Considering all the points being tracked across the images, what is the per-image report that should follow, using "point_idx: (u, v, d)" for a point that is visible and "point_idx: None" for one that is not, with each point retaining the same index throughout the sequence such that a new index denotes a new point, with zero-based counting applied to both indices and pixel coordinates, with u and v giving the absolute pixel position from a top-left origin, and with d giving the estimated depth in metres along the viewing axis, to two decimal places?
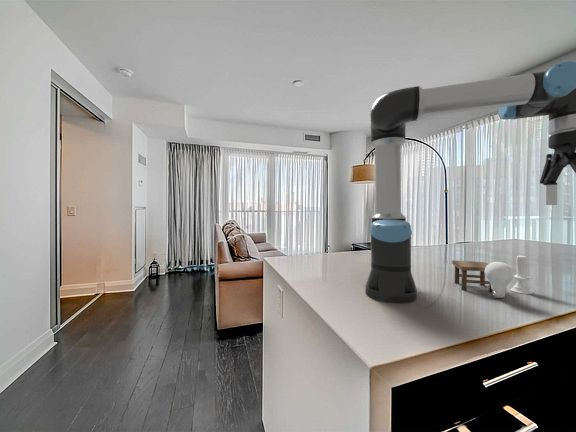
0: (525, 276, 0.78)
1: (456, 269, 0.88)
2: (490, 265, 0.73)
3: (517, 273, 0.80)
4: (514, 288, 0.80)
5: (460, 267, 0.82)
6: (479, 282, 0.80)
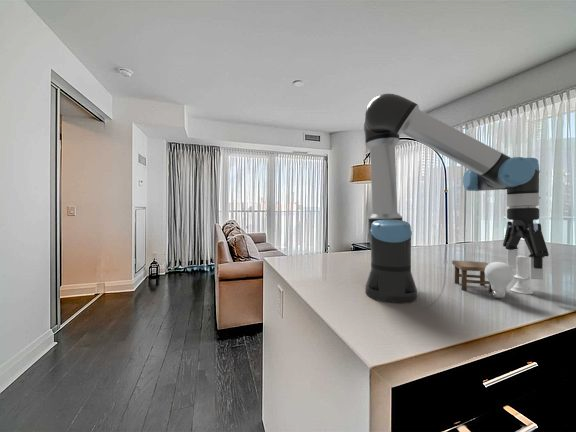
0: (525, 276, 0.78)
1: (456, 269, 0.88)
2: (490, 265, 0.73)
3: (517, 273, 0.80)
4: (514, 288, 0.80)
5: (460, 267, 0.82)
6: (479, 282, 0.80)
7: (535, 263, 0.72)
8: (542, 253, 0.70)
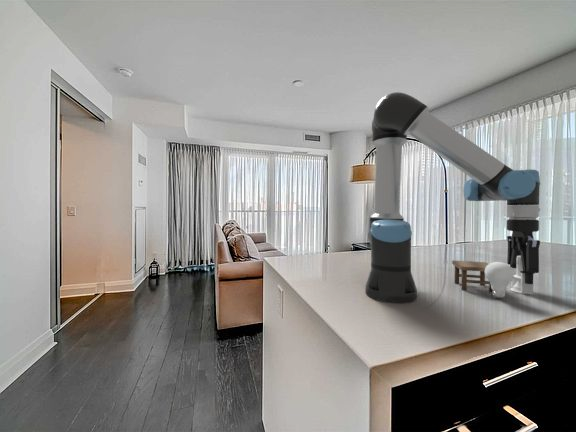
0: None
1: (456, 269, 0.88)
2: (490, 265, 0.73)
3: (517, 273, 0.80)
4: (514, 288, 0.80)
5: (460, 267, 0.82)
6: (479, 282, 0.80)
7: (526, 279, 0.76)
8: (533, 270, 0.74)
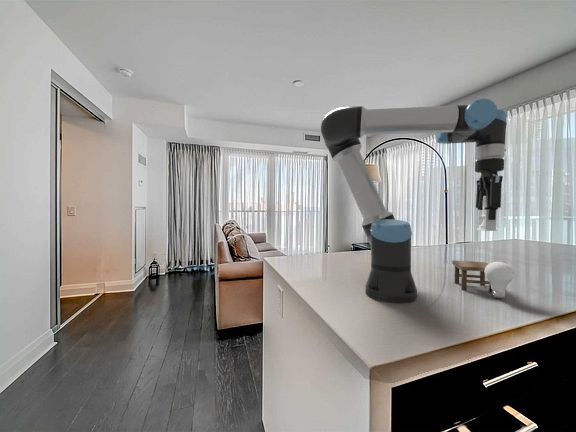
0: None
1: (456, 269, 0.88)
2: (490, 265, 0.73)
3: (483, 213, 0.82)
4: (479, 227, 0.83)
5: (460, 267, 0.82)
6: (479, 282, 0.80)
7: (489, 215, 0.79)
8: (495, 204, 0.76)
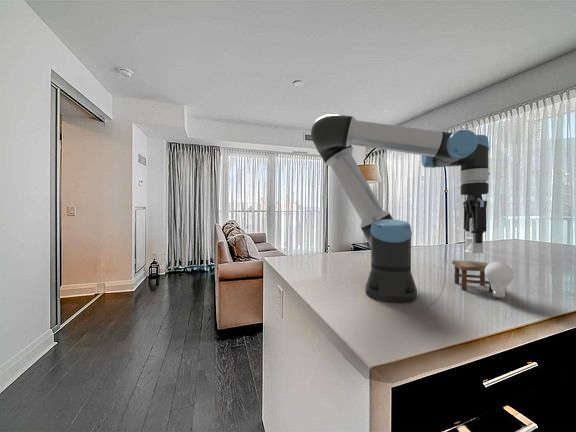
0: None
1: (456, 269, 0.88)
2: (490, 265, 0.73)
3: (470, 235, 0.84)
4: (467, 249, 0.84)
5: (460, 267, 0.82)
6: (479, 282, 0.80)
7: (476, 238, 0.80)
8: (481, 229, 0.78)
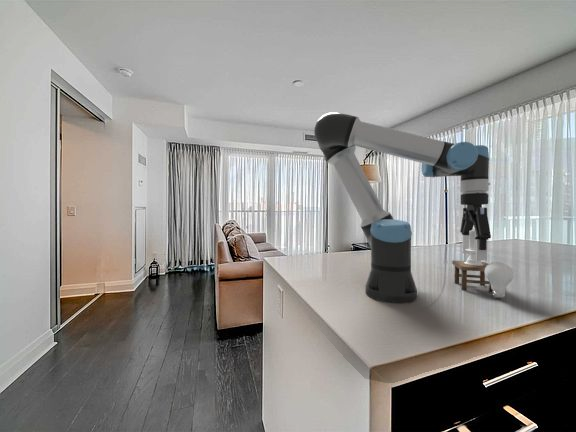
0: None
1: (456, 269, 0.88)
2: (490, 265, 0.73)
3: (469, 247, 0.84)
4: (467, 261, 0.84)
5: (460, 267, 0.82)
6: (479, 282, 0.80)
7: (480, 245, 0.77)
8: (485, 235, 0.75)
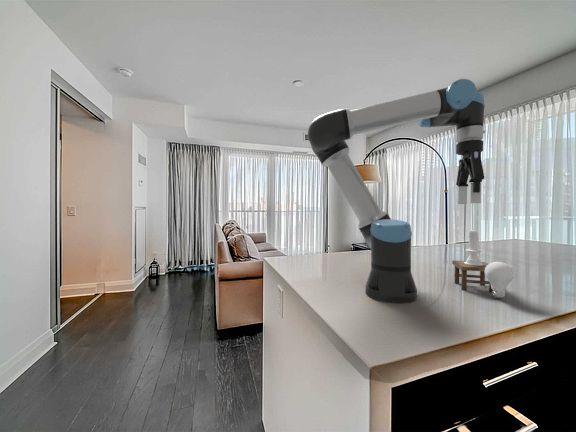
0: (476, 249, 0.82)
1: (456, 269, 0.88)
2: (490, 265, 0.73)
3: (469, 247, 0.84)
4: (467, 261, 0.84)
5: (460, 267, 0.82)
6: (479, 282, 0.80)
7: (474, 187, 0.78)
8: (479, 176, 0.75)
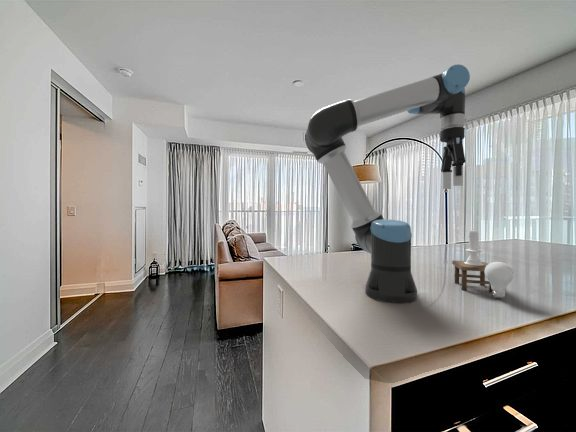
0: (476, 249, 0.82)
1: (456, 269, 0.88)
2: (490, 265, 0.73)
3: (469, 247, 0.84)
4: (467, 261, 0.84)
5: (460, 267, 0.82)
6: (479, 282, 0.80)
7: (456, 171, 0.83)
8: (460, 160, 0.81)
